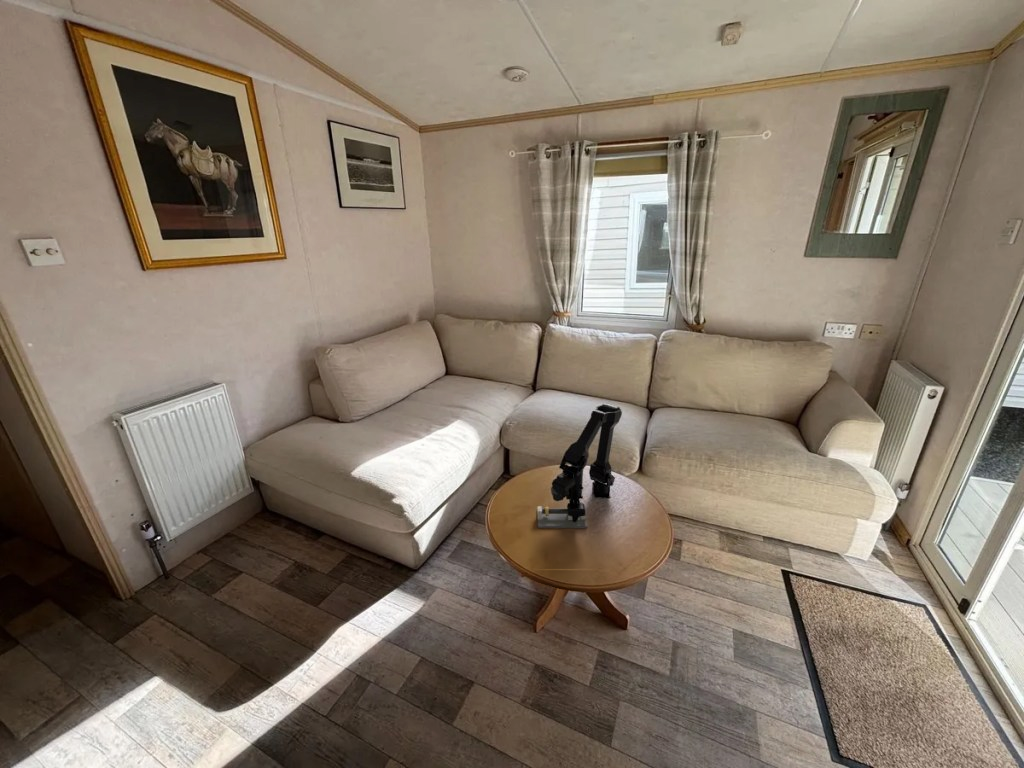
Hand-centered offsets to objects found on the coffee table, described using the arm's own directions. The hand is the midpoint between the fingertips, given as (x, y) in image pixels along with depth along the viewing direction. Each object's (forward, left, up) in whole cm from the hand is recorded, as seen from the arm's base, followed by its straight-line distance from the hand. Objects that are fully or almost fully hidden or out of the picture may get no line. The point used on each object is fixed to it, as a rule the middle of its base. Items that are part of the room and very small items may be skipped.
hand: (573, 515), depth 151 cm
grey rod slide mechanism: (+5, 0, -2) cm, 5 cm away
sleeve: (0, 0, 0) cm, 0 cm away
